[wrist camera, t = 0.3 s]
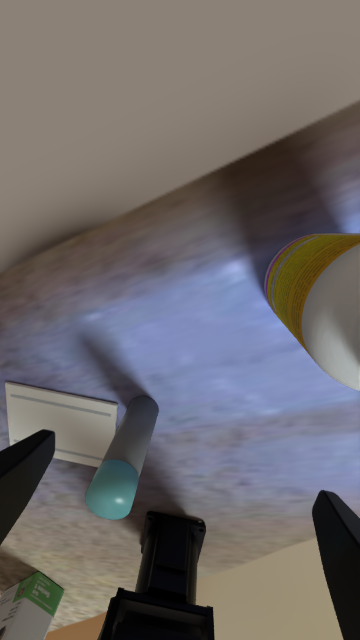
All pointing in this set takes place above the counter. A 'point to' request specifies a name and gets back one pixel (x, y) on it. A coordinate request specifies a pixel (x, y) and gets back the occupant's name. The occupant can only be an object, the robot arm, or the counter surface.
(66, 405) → the paper
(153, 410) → the marker
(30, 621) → the ink box
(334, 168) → the counter surface
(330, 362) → the supplement bottle
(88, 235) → the counter surface
